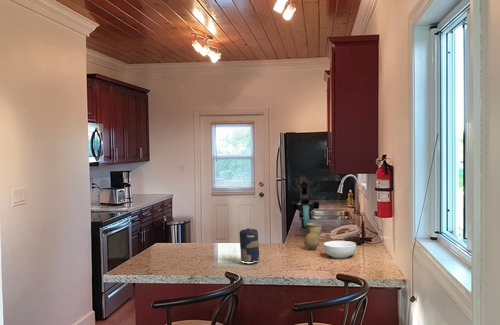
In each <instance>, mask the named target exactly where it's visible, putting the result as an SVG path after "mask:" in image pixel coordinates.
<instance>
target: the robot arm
mask: <svg viewBox="0 0 500 325" xmlns="http://www.w3.org/2000/svg"><path fill="white" fill-rule="evenodd" d="M296 184H297V185H296V186H298V190H299V192H300V194H299V195H300V202H298V201H292V202H291V210H292V211H298V212H299V213H298V218H299V221H301V222H300V223H301V226H299V228H300V229H302V228H307V227H305V226H304V220H303V205H309V221H310V220H312V211H314V210H319V209H320V202H319V200H313V201H312V203H310V200H312V193H309V190H310V189H311V185H310V184H309V179H308V177H306V175H300V176H298V178H297V179H296Z"/></svg>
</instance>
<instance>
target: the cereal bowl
mask: <svg viewBox="0 0 500 325" xmlns="http://www.w3.org/2000/svg"><path fill="white" fill-rule="evenodd" d="M323 250H324V252H325V253H326V254H327V255H328V256H331V257H332V258H333V259H347V258H348V257H350V256H352V255H354V254H355V253H356V250H357V243H356V242H354V241H348V240H347V241H346V240H331V241H325V242H324V243H323Z"/></svg>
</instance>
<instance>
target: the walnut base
mask: <svg viewBox="0 0 500 325" xmlns="http://www.w3.org/2000/svg"><path fill="white" fill-rule="evenodd" d="M307 234H308V231H307V228H300V229H299V232H297V233H295V234H294V236H295V237H306V236H307Z"/></svg>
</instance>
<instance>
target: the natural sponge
mask: <svg viewBox="0 0 500 325" xmlns="http://www.w3.org/2000/svg"><path fill="white" fill-rule="evenodd" d="M320 243H321V237H320V238H319V236H318V235H317V234H316V233H314V232H311V233H309V234H307V236H305V238H304V240H303V245H304V246H305V247H306V248H308V249H309V250H312V251H314V250H315V249H317V247H319V245H321V244H320Z"/></svg>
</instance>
